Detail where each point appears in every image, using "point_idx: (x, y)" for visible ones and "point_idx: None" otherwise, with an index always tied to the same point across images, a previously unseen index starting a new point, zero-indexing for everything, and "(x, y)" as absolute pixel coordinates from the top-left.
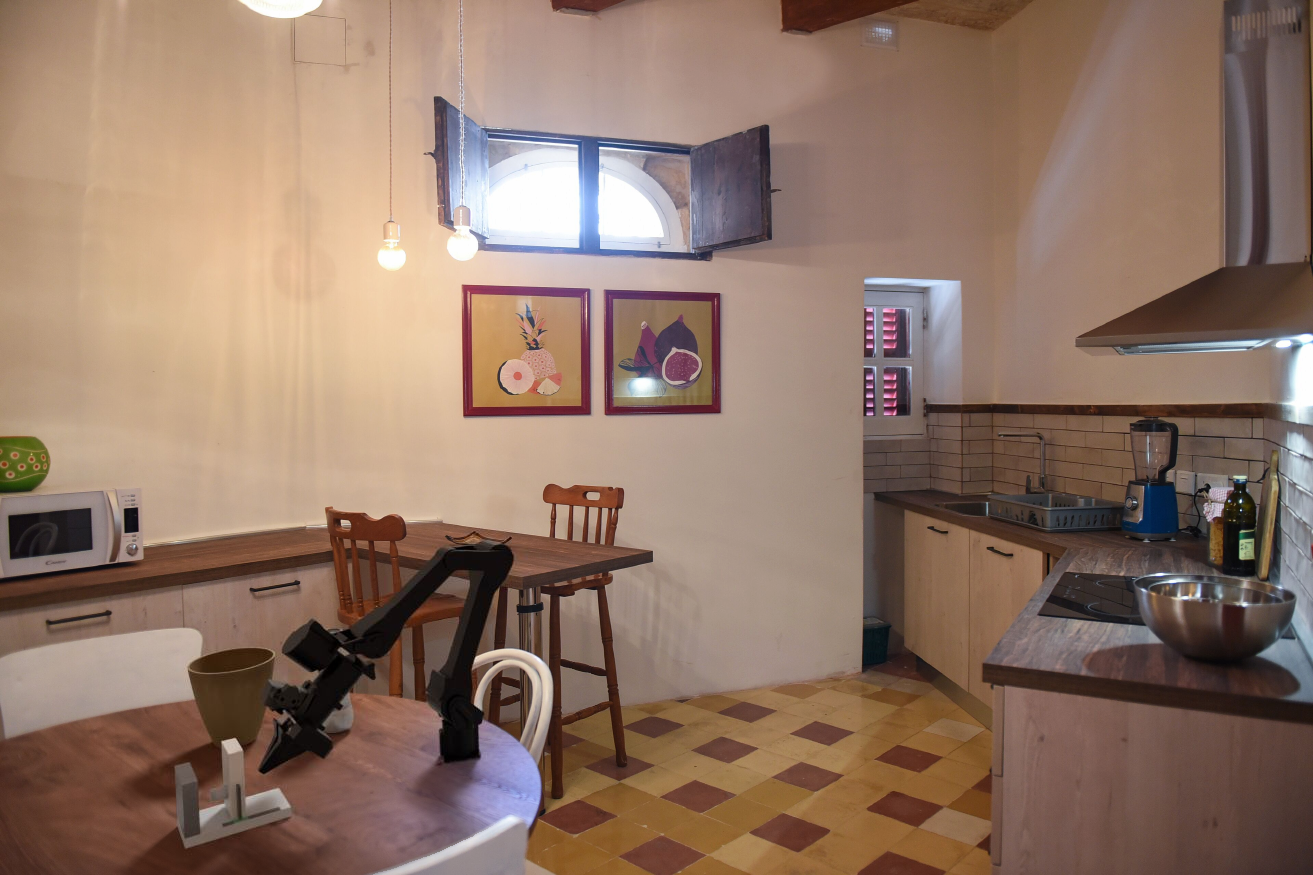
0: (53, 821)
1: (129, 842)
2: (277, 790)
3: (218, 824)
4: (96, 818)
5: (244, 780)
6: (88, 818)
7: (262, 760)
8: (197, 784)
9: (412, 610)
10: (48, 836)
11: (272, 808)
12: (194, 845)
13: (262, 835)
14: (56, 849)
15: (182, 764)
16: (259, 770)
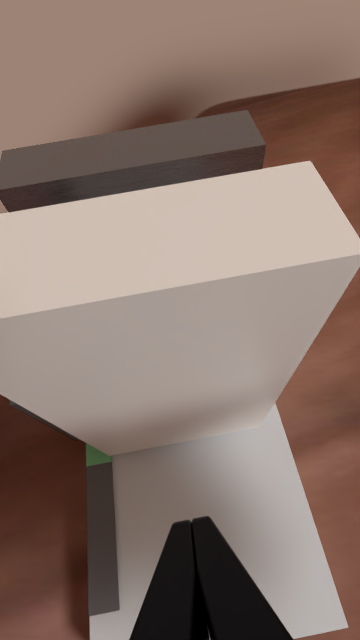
0: (353, 112)
1: None
2: (317, 616)
3: None
4: (343, 156)
5: (54, 423)
6: (347, 146)
7: (225, 563)
8: (3, 204)
9: None
10: (291, 117)
11: (127, 573)
12: None
13: (22, 516)
14: None
15: (248, 129)
16: (171, 526)
